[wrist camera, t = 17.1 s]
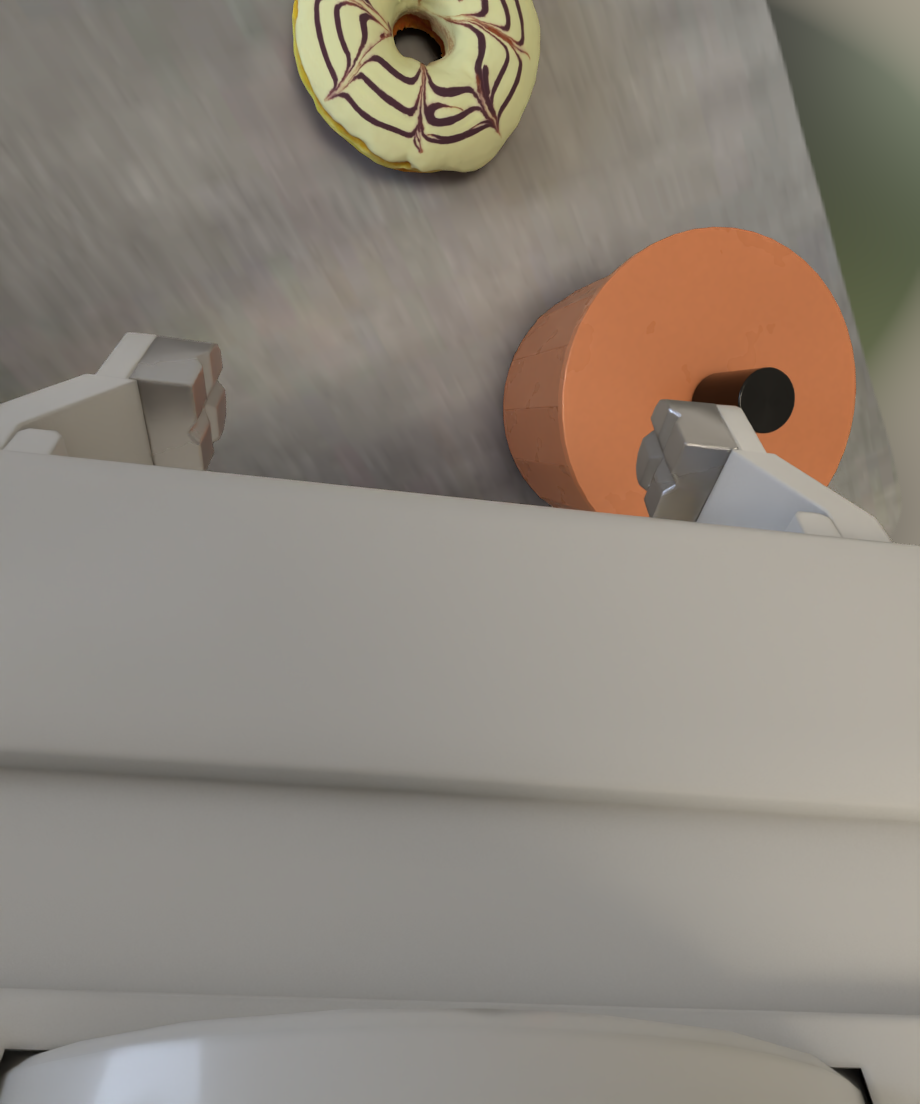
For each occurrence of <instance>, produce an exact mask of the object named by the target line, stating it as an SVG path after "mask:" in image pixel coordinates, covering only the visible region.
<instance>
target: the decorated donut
mask: <svg viewBox="0 0 920 1104" xmlns="http://www.w3.org/2000/svg"><path fill="white" fill-rule="evenodd" d="M292 24H293V36H294V43H293V45H294V55H295V59H296V63H297V68H298V72H299V75H300V77H301V80H302V82H303V83H304V85H305V87H306V89H307V91H308V92H309V94H310V95H311V97H312V98H313V100H314V103H315V105H316V108H317V111H318V112H319V113H320V114H321V116H322V117H323V118H324V120H325V121H326V122H327V123H328V124H329V126H330V127H331V128H332V129H334V131H336V132H337V133H338V134H339V135H340V136H342V137H343V138H344V139H345V140H346V141H348V142H349V143H350V144H351V145H352V146H354V147H355V148H356V149H357V150H358V151H359V152H360V153H362V154H364V155H365V156H367V157H368V158H370V159H371V160H372V161H374V162H375V163H377V164H380V165H382V166H384V167H387V168H392V169H394V170H399V171H403V172H418V173H433V172H438V171H442V170H447V171H458V172H463V173H464V172H468V171H476V170H477V169H479V168H481V167H483V166H484V165H486V164H487V163H488V162H489V161H491V160H492V159H493V158H494V156H495V155H496V154H497V153H498V151H499V150H500V149H501V147H502V146H503V145H504V143H505V141H506V140H507V138H508V137H509V136H510V135H511V133H512V132H513V131H514V130H515V129H516V127H517V126H518V124H519V121H520V119H521V115H522V113H523V112H524V110H525V108H526V105H527V103H528V101H529V99H530V96H531V93H532V89H533V86H534V84H535V81H536V73H537V68H538V62H539V55H540V25H539V21H538V17H537V13H536V11H535V8H534V5H533V2H532V0H295V2H294V6H293V15H292ZM404 27H405V29H406V28H407V27H408V28H409V27H410V28H411V27H412V28H415V29H417V28H418V29H420V30H423V31H425V32H427V34H428V33H429V34H430V36H431V37H433V38H434V39H435V41H436V42H437V43H438V44H439V45H440V47H441V52H442V54H441V56H442V58H441V59H439V60H437V61H433V62H431V63H429V64H428V65H427V66H426V65H424V64H422V63H420V62H419V61H417V60H415V59H413V58H409V57H403V56H402V55H401V54H400V53H399V51H398V50H397V48H396V45H395V42H394V36H395V35H396V32H397V31H398V30H403V28H404Z"/></svg>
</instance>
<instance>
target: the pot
mask: <svg viewBox="0 0 920 1104" xmlns="http://www.w3.org/2000/svg"><path fill="white" fill-rule="evenodd" d="M609 276H610V275H609ZM609 276H607V277H605V278H602V279H600V280H598V281H596V282H594V283H592V284H589V285H587V286H585V287H583V288H581V289H579V290H577V291H575V292H574V293H572V294H571V295H569V296H568V297H567V298H565V299H564V300H562V301H561V302H559V303H558V304H556V305H554V306H553V307H552V308H551V309H549V310H548V311H547V312H546V313H545V314H543V315H542V316H541V317H539V319H538V320H537V321H536V323H535V324H534V325H533V326H532V327H531V329H530V330H529V331H528V333H527V334H526V336H525V337H524V339H523V340H522V342H521V344H520V346H519V347H518V349H517V351H516V353H515V355H514V358H513V361H512V363H511V366H510V369H509V372H508V376H507V380H506V384H505V391H504V400H503V419H504V426H505V433H506V438H507V441H508V445H509V449H510V451H511V454H512V456H513V459H514V461H515V464H516V465H517V467H518V469H519V471H520V473H521V474H522V476H523V478H524V479H525V480H526V482H527V483H528V484H529V485H530V487H531V488H532V489H533V490H534V491H535V492H536V493H537V495H538V496H539V497H540V498H541V499H543V500H544V501H546V502H547V503H548V504H550V505H551V506H552V507H554V508H564V509H573V510H583V511H591V509H590V508H589V506H588V505H587V504H586V502H585V501H584V500H583V498H582V496H581V494H580V492H579V490H578V489H577V487H576V485H575V483H574V481H573V478H572V476H571V473H570V471H569V468H568V466H567V463H566V460H565V456H564V452H563V448H562V444H561V439H560V430H559V422H558V391H559V383H560V375H561V369H562V365H563V361H564V357H565V353H566V349H567V347H568V344H569V341H570V339H571V336H572V333H573V331H574V328H575V326H576V324H577V322H578V320H579V318H580V316H581V315H582V313H583V311H584V309H585V307H586V306H587V304H588V303H589V301H590V300H591V298H592V297H593V295H594V294H595V293H596V291H597V290H598V288H599V287H600V286H601V285H602V284H603V283H604V282H605V281H606V279H607V278H608V277H609Z"/></svg>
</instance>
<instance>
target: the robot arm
mask: <svg viewBox="0 0 920 1104" xmlns="http://www.w3.org/2000/svg"><path fill="white" fill-rule="evenodd" d="M222 368H223V365H222V358H221V350H220V348H219V346H218V344H214V343H207V342H200V341H193V340H186V339H179V338H172V337H165V336H158V335H154V334H143V333H132V332H131V333H126V334H125V335H124V337H123V338H122V339H121V341H120V342H119V343H118V345H117V346H116V347H115V349H114V350H113V351H112V353H111V354H110V355H109V357H108V358H107V359H106V361H105V362H104V363H103V365H102V366H101V367H100V368H99V370H98V371H97V372H96V374H95V375H92V374H84V375H81V376H78V377H75V378H73V379H70V380H67V381H64V382H61V383H58V384H55V385H53V386H50V387H47V388H44V389H41V390H38V391H36V392H33V393H30V394H27V395H24V396H21V397H19V398H16V399H13V400H10V401H7V402H4V403H2V404H0V1104H920V546H919V545H910V544H900V543H893V542H892V540H891V539H890V537H889V536H888V534H887V533H886V531H885V530H884V528H883V527H882V525H881V524H880V523H879V521H878V520H877V518H875V517H874V516H872V515H871V514H869V513H867V512H866V511H864V510H863V509H861V508H859V507H858V506H856V505H855V504H853V503H852V502H850V501H848V500H847V499H845V498H844V497H842V496H840V495H839V494H837V493H836V492H834V491H833V490H831V489H829V488H828V487H826V486H825V485H823V484H821V483H820V482H818V481H817V480H815V479H813V478H812V477H810V476H809V475H807V474H806V473H804V472H802V471H801V470H799V469H798V468H796V467H794V466H793V465H791V464H790V463H788V462H787V461H785V460H783V459H782V458H780V457H779V456H777V455H775V454H772V453H767V452H766V451H765V449H764V447H763V445H762V444H761V442H760V440H759V438H758V437H757V435H756V433H755V431H754V430H753V428H752V426H751V424H750V423H749V421H748V419H747V417H746V416H745V414H744V412H743V410H742V409H741V408H739V407H737V406H730V405H717V404H711V403H701V402H690V401H680V400H670V399H662V400H660V401H659V402H658V404H657V405H656V407H655V409H654V411H653V414H652V416H651V421H652V424H653V427H654V430H653V431H652V432H651V433H649V434H648V435H647V436H645V437H644V438H643V440H642V443H641V445H640V448H639V451H638V456H637V463H636V475H637V480H638V483H639V485H640V486H641V487H642V488H644V489H645V490H646V491H647V492H646V495H645V497H644V502H645V505H646V508H647V511H648V514H649V517H641V516H631V515H621V514H612V513H602V512H593V511H583V510H573V509H564V508H554V507H545V506H535V505H525V504H516V503H506V502H497V501H487V500H478V499H468V498H459V497H449V496H440V495H430V494H421V493H411V492H402V491H392V490H383V489H373V488H364V487H354V486H345V485H335V484H326V483H316V482H307V481H297V480H288V479H278V478H269V477H259V476H250V475H240V474H231V473H221V472H212V471H206V470H207V468H208V466H209V463H210V461H211V459H212V456H213V454H214V451H213V442H215V441H217V440H219V439H220V438H221V435H222V432H223V430H224V424H225V418H226V394H225V389H224V388H223V387H222V385H221V384H220V383H219V382H218V381H217V379H218V377H219V375H220V373H221V370H222Z"/></svg>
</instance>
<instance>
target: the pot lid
mask: <svg viewBox="0 0 920 1104" xmlns="http://www.w3.org/2000/svg"><path fill="white" fill-rule="evenodd" d="M855 394H856V376H855V363H854V356H853V349H852V345H851V341H850V337H849V333H848V329H847V326H846V324H845V321H844V319H843V316H842V313H841V311H840V309H839V307H838V305H837V303H836V301H835V299H834V297H833V296H832V294H831V292H830V290H829V289H828V288H827V286H826V285H825V283H824V282H823V281H822V279H821V278H820V277H819V275H818V274H817V273H816V272H815V271H814V270H813V269H812V268H811V267H810V266H809V265H808V264H807V263H806V262H805V261H804V260H803V259H802V258H801V257H799V256H798V255H797V254H795V253H794V252H793V251H792V250H790V249H789V248H787V247H786V246H784V245H782V244H780V243H778V242H777V241H775V240H773V239H771V238H768V237H766V236H763V235H760V234H758V233H755V232H752V231H747V230H742V229H737V228H728V227H708V228H699V229H692V230H689V231H685V232H681V233H678V234H674V235H671V236H669V237H667V238H665V239H662V240H660V241H658V242H656V243H653V244H651V245H649V246H648V247H646V248H645V249H643V250H641V251H640V252H638V253H637V254H635V255H633V256H632V257H630V258H629V259H628V260H627V261H626V262H624V263H623V264H622V265H621V266H620V267H618V268H617V269H616V270H615V271H614V272H613V273H612V274H611V275H610V276H609V277H608V278H607V279H606V281H605V282H604V283H603V284H602V285H601V286H600V287H599V288H598V290H597V291H596V293H595V294H594V295H593V297H592V298H591V300H590V301H589V303H588V304H587V306H586V307H585V309H584V311H583V313H582V315H581V316H580V318H579V320H578V322H577V324H576V326H575V328H574V331H573V333H572V336H571V339H570V341H569V344H568V347H567V349H566V353H565V357H564V361H563V365H562V369H561V375H560V383H559V391H558V422H559V430H560V439H561V444H562V448H563V452H564V456H565V460H566V463H567V466H568V468H569V471H570V473H571V476H572V478H573V481H574V483H575V485H576V487H577V489H578V490H579V492H580V494H581V496H582V498H583V500H584V501H585V502H586V504H587V505H588V506H589V508H590V509H591V511H593V512H602V513H612V514H621V515H631V516H641V517H649V514H648V511H647V508H646V505H645V502H644V497H645V495H646V492H647V491H646V490H645V489H644V488H642V487H641V486H640V485H639V483H638V480H637V475H636V463H637V456H638V451H639V448H640V445H641V443H642V440H643V438H644V437H645V436H647V435H648V434H649V433H651V432H652V431H653V430H654V427H653V424H652V421H651V416H652V414H653V411H654V409H655V407H656V405H657V404H658V402H659V401H660V400H662V399H670V400H680V401H690V402H701V403H711V404H717V405H730V406H737V407H739V408H741V409H742V410H743V412H744V414H745V416H746V417H747V419H748V421H749V423H750V424H751V426H752V428H753V430H754V431H755V433H756V435H757V437H758V438H759V440H760V442H761V444H762V445H763V447H764V449H765V451H766V452H767V453H772V454H775V455H777V456H779V457H780V458H782V459H783V460H785V461H787V462H788V463H790V464H791V465H793V466H794V467H796V468H798V469H799V470H801V471H802V472H804V473H806V474H807V475H809V476H810V477H812V478H813V479H815V480H817V481H818V482H820V483H821V484H823V485H825V486H826V487H827V486H828V484H829V483H830V481H831V479H832V477H833V475H834V473H835V472H836V470H837V467H838V465H839V463H840V460H841V458H842V455H843V453H844V451H845V447H846V444H847V441H848V437H849V434H850V430H851V425H852V420H853V414H854V407H855Z"/></svg>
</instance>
